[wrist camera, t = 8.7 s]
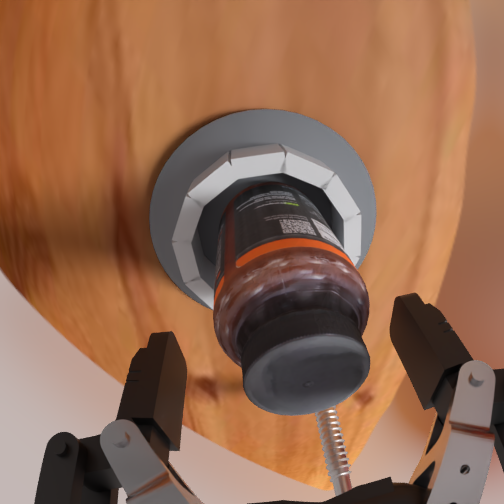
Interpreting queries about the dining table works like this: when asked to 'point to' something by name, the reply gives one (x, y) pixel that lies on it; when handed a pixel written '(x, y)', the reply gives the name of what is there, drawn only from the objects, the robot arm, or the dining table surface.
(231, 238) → the supplement bottle
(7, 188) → the dining table surface
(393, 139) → the dining table surface
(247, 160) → the bottle coaster
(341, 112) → the dining table surface
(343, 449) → the screw
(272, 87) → the dining table surface
